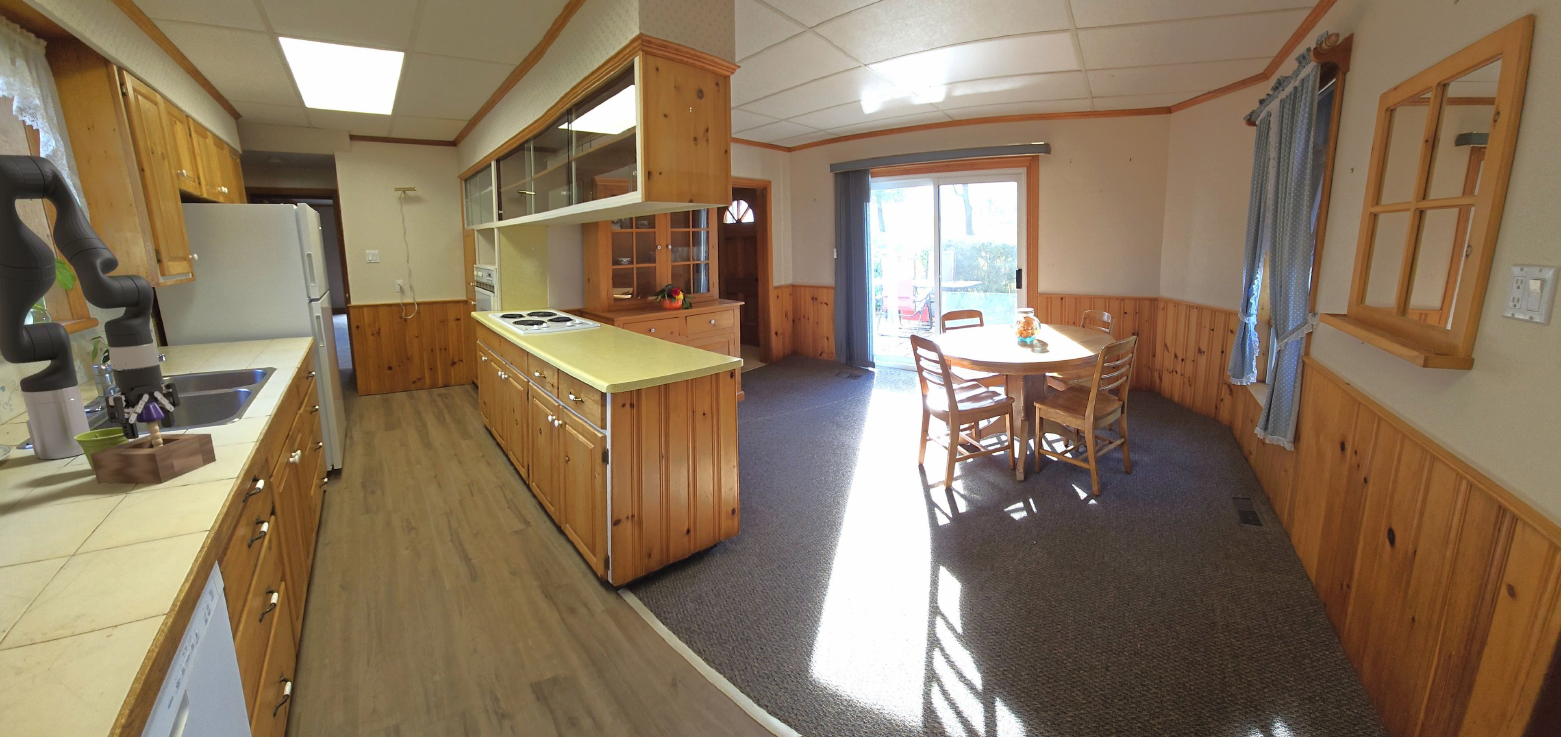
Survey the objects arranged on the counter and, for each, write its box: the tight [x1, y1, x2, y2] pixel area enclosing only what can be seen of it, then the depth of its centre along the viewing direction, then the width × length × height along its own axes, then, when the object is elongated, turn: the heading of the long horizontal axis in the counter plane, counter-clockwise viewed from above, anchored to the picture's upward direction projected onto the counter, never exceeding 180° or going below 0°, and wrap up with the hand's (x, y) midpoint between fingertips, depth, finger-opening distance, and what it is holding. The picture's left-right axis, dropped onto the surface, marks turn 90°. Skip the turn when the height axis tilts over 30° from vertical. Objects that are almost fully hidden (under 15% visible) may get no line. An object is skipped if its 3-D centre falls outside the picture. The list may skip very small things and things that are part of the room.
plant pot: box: [74, 427, 130, 472], centre depth 146 cm, size 9×9×9 cm
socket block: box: [91, 433, 217, 484], centre depth 144 cm, size 14×14×7 cm
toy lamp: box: [135, 402, 165, 448], centre depth 143 cm, size 5×5×17 cm
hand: (151, 432), depth 143 cm, fingers open, 8 cm apart
